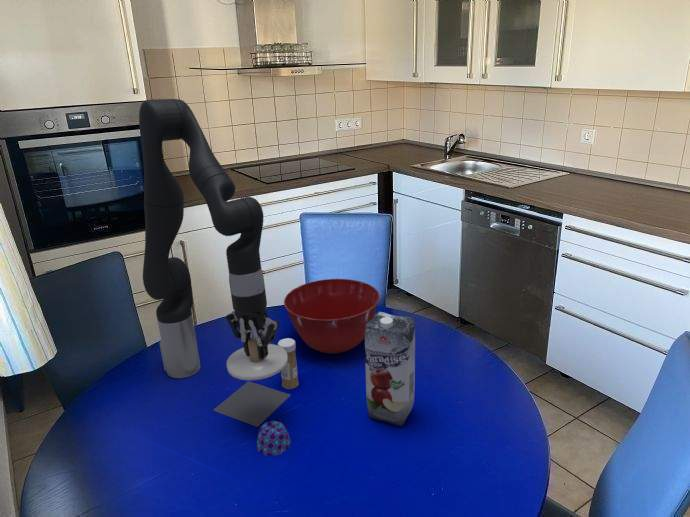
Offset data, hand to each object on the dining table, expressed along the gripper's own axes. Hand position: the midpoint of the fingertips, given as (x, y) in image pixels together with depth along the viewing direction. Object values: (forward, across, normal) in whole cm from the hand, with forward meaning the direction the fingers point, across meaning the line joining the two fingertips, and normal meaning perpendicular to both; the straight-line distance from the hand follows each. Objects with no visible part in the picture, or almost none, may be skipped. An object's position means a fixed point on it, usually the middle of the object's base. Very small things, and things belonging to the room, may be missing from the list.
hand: (256, 356), depth 123 cm
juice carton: (+19, +26, +15) cm, 36 cm away
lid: (+2, 0, 0) cm, 2 cm away
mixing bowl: (+18, -3, +40) cm, 44 cm away
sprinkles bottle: (+18, -3, +15) cm, 24 cm away
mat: (+18, -7, +4) cm, 19 cm away
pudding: (+19, +7, -6) cm, 21 cm away
